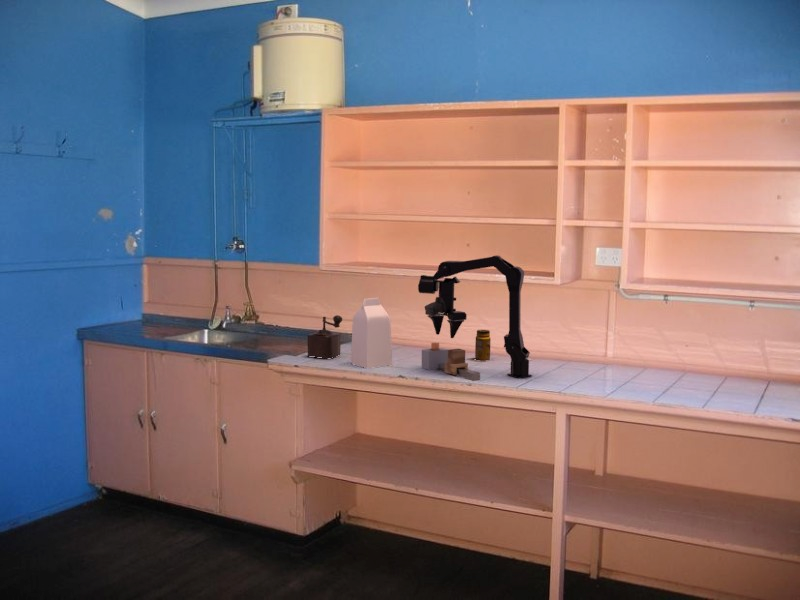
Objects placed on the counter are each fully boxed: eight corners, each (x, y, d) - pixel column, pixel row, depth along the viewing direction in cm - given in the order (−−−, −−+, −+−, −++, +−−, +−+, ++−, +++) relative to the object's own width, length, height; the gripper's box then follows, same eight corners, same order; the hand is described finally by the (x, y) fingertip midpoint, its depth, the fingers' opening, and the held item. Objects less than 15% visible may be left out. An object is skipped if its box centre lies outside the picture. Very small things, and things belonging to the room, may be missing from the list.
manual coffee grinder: (305, 357, 327) (305, 314, 325) (319, 353, 337) (319, 311, 335) (339, 360, 321) (339, 316, 319) (352, 356, 331) (352, 313, 329)
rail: (483, 379, 286) (483, 372, 286) (469, 381, 283) (469, 374, 283) (448, 369, 305) (448, 362, 305) (435, 370, 302) (435, 363, 302)
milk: (366, 368, 305) (367, 300, 302) (350, 364, 314) (350, 298, 311) (392, 365, 312) (393, 298, 309) (375, 361, 321) (376, 296, 318)
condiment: (494, 360, 325) (495, 330, 323) (478, 362, 320) (478, 332, 319) (483, 357, 331) (483, 328, 330) (466, 359, 326) (467, 330, 325)
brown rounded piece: (440, 351, 306) (440, 343, 306) (434, 351, 305) (434, 344, 304) (436, 350, 309) (436, 342, 308) (429, 350, 307) (429, 343, 307)
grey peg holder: (448, 367, 307) (448, 349, 307) (428, 369, 303) (428, 351, 302) (441, 365, 312) (441, 347, 311) (421, 367, 307) (421, 349, 306)
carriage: (467, 373, 294) (468, 350, 293) (454, 374, 291) (454, 351, 290) (458, 370, 299) (458, 348, 298) (444, 372, 296) (445, 349, 295)
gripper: (414, 292, 301) (413, 333, 303) (443, 298, 286) (441, 341, 288) (438, 291, 307) (437, 332, 309) (468, 297, 292) (466, 339, 294)
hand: (444, 336), depth 300 cm, fingers open, 9 cm apart
